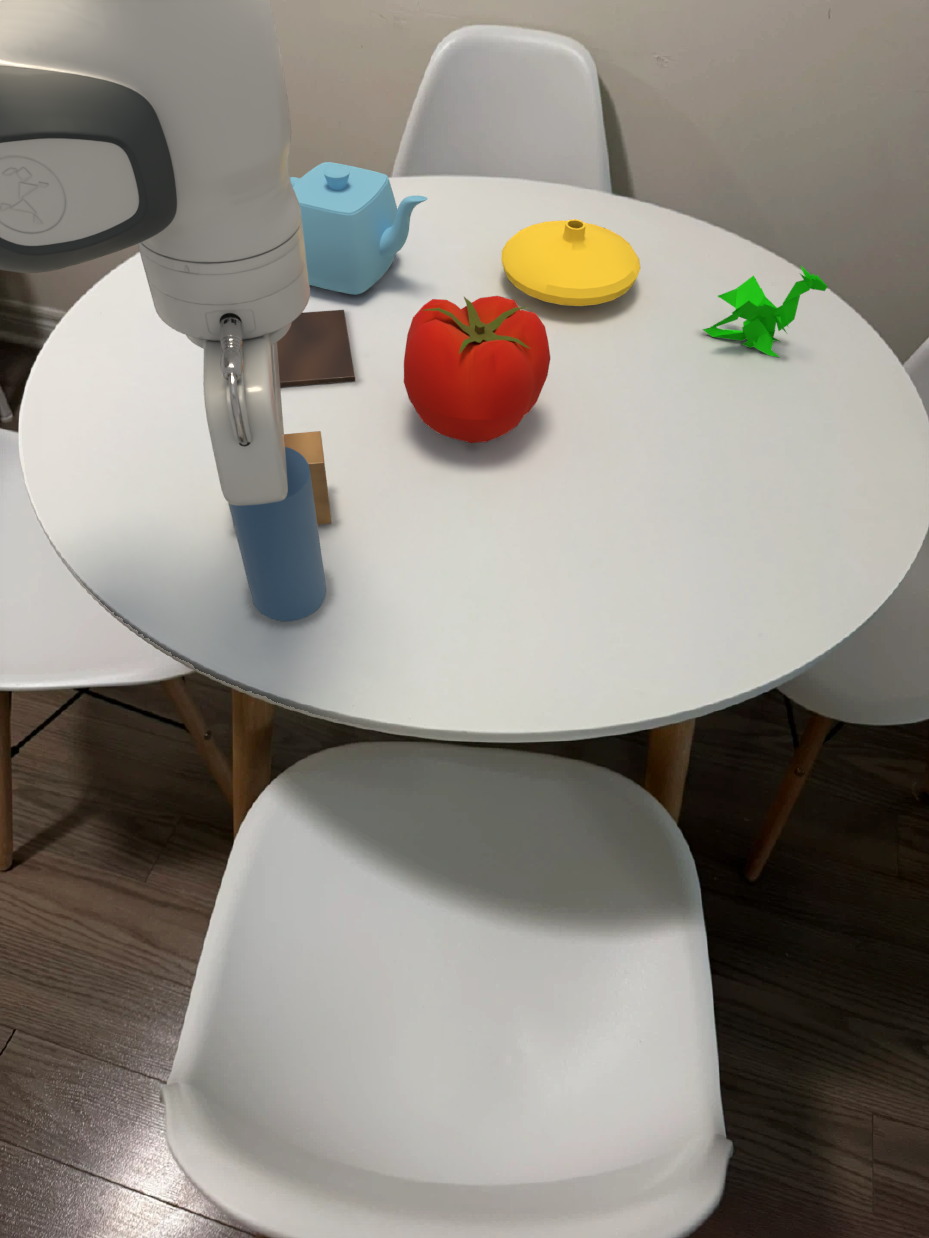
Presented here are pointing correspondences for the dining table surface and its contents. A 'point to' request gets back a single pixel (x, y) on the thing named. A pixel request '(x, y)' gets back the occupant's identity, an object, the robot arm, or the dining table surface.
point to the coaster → (315, 350)
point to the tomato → (475, 366)
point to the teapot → (350, 225)
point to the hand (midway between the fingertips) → (264, 458)
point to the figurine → (762, 312)
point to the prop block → (313, 469)
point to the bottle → (283, 548)
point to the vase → (570, 263)
